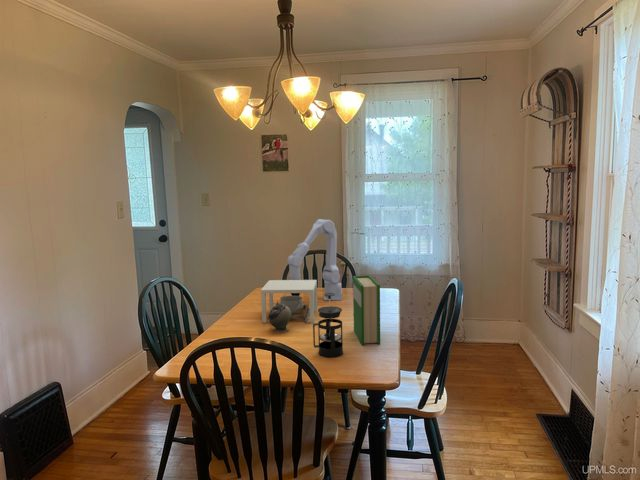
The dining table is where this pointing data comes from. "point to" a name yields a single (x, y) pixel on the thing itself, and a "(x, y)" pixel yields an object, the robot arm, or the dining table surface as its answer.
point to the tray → (300, 317)
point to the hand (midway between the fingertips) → (296, 303)
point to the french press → (329, 331)
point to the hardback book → (366, 309)
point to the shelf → (290, 287)
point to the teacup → (292, 303)
